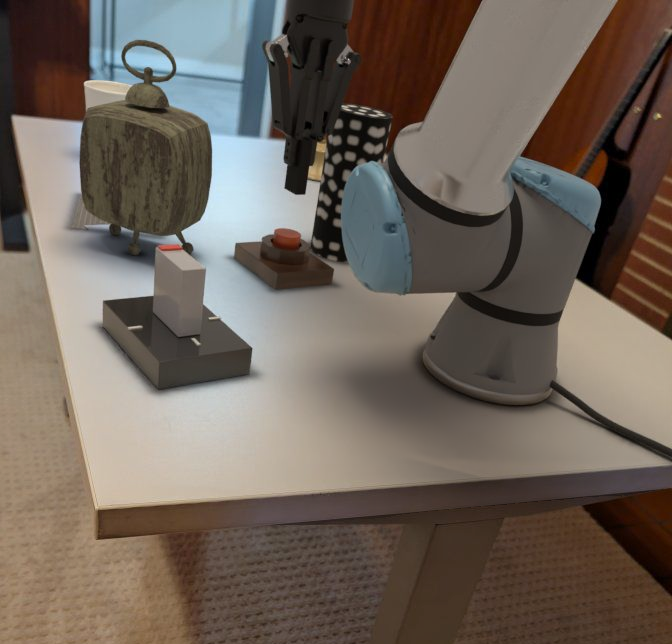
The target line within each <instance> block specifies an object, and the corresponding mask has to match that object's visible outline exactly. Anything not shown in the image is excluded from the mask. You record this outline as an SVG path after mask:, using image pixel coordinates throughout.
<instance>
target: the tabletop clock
mask: <svg viewBox="0 0 672 644" xmlns="http://www.w3.org/2000/svg"><path fill="white" fill-rule="evenodd" d="M135 47H146V48H150V49H154V50H156V51H159V52H160V53H162V54H164V55H165V56H166V57H167V59H168V60H169V62H170V64H171V67H172V68H171V72H170V73H168V74H166V75H162V76H157V75H154V70H153V68H152V67H150V66H146V67H144V68H143V72H141V71H139V70H136V69H135V68H133V67H132V66H130V64H129V63H127V59H126V55H127V53H128V52H129V50H130V49H132V48H135ZM120 57H121V61H122V65H123V66H124V68H125V69H126V70H127V72H128V73H130V74H131V75H133V76H134V77H136V78H137V79H140V80H141V81H143V82H137V83H134V84H133V85H132V87H130V89H129V90H128V92H127V94H126V97H125V100H121V101H116V102H112V103H107V104H102V105H98V106H94V107H90V108H88V109H87V111H86V110H85V114H84V117H83V119H82V125H81V131H80V140H79V179H80V193H81V195H82V199H83V203H84V206H85V208H86V210H87V211H88V212H90V213H91V214H92V215H94V216H96V217H98V218H99V219H101V220H103V221H106V222H108V223H111V224H109V226H108V230H109V233H110V234H112V235H113V236H118V235H120V234H121V232H122V228H123V229H125V230H129V231H132V232H133V239H132V241H133V242H131V243H129V244H128V246H127V250H128V253H129V254H130V255H131V256H138V255H140V253H141V246H140V245H139V243H138V242H139V238H140V233H141V234H147V235H152V236H158V237H169V236H176V237H177V239H178V241H179V242H180V243H181V244H182V245H180V246H181V247H182V248H183V250H184V251H185V252H186V253H188V254H189V255H191V254H193V252H194V246H193V244H192V243H191V242H188V241H186V239H185V236H184V235H183V233H182V232H183V231H184V230H186V229H188V228H190V227H192V226H193V225H195V224H197V223H198V222H200V221H201V220H202V218H203V216H204V214H205V212H206V209H207V206H208V202H209V197H210V191H211V185H212V177H213V144H212V143H213V142H212V134H211V131H210V127H209V124H208V122H207V121H205V120H204V119H202V118H201V117H200V116H198V115H196V114H195V113H193V112H190V111H187V110H185V109H182V108H179V107H175V106H173V105H170V102H169V99H168V96H167V94H166V93H165V92H164V90H163V89H162V87H160V86H159V85H157V84H154V83H159V84H160V83H165V82H169V81H170V80H171V79H172V78H174V77H175V75H176V73H177V69H178V68H177V63H176V59H175V57H174V55H173V54H172V53H171V51H170V50H169V49H168V48H167V47H165V46H164V45H162V44H160V43H158V42H155V41H150V40H147V39H134V40H131V41H129V42H128V43H126V45H124V46H123V48H122V51H121V56H120Z"/></svg>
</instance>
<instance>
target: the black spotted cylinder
mask: <svg viewBox="0 0 672 644" xmlns="http://www.w3.org/2000/svg"><path fill="white" fill-rule="evenodd" d="M393 117H394V116H393V115H392V114H391V113H389V112H387V111H384V110H381V109H378V108H374V107H371V106H366V105H361V104H354V103H346V102H343V104H342V106H341V109H340V112H339V115H338V118H337V121H336V124H335V127H334V130H333V133H332V134H331V135H329V136H328V135H327V138H326V150H325V157H324V163H323V169H322V176H321V181H319V182H320V183H319V189H318V195H317V201H316V209H315V215H314V221H313V229H312V234H311V240H310V248H311V249H310V251H311V252H312V253H313V254H315V255H317V256H319V257H320V258H324V259H326V260H329V261H334V262H340V263H348V260H347V257H346V254H345V250H344V245H343V239H342V228H341V206H342V198H343V193H344V189H345V185H346V182H347V180H348V177H349V175H350V174H351V172H352V171H353V170H354V169H355V168H356V167H357V166H359V165H363V164H365V163H368V162H370V161H374V162H377V163H379V164H382V163H383V162H384V161H385V159H386V158H385V157H386V153H387V148H388V142H389V138H390V133H391V127H392V122H393Z"/></svg>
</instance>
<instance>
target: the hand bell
mask: <svg viewBox="0 0 672 644" xmlns="http://www.w3.org/2000/svg"><path fill="white" fill-rule="evenodd" d="M322 137H324V139H323V141H322V142H317V147H316V154H315V161H314V164H313V166H309V173H308V180H311V181H315V182H321V176H322V169H323V163H324V157H325V150H326V144H327V138H328V135H325V136H322Z"/></svg>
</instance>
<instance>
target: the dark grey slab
mask: <svg viewBox="0 0 672 644" xmlns="http://www.w3.org/2000/svg"><path fill="white" fill-rule="evenodd" d="M102 328H103V329H104V330H105V331H106V332H107V333H108V335H110V337H111V338H112V339H113V340H114V341H115V342H116V344H118V345H119V346H120V348H121V349H122V350H123V352H124V353H126V354H127V356H128V357H129V358H130V359H131V360H132V361H133V363H134V364H135V365H136V366H137V367H138V368H139V369H140V370H141V372H142V373H143V374H144V375H145V376H146V377H147V379H148V380H149V381H150V382H151V383H152V384H153V386H154V387H156V389H157V390H164V389H169V388H175V387H176V388H177V387H180V386H181V387H182V386H188V385H193V384H199V383H204V382H210V381H216V380H221V379H223V380H224V379H228V378H234V377H239V376H245V375H250V372H251V365H252V358H253V357H252V356H253V350H254V348H253V347H252V346H251V345H250V344H249V343H248V342H246V341H245V340H244V339H243V338H242V337H241V336H240V335H238V333H236V332H235V331H234V330H233V329H232V328H231V327H230V326H229V325H227V324H226V323H225V322H224V321H223V320H222V317H221V316H220V315H219V316H217V315H216V314H215V313H214V312H213V311H212V310H210V309H209V308H208V307H207V306H206V305H205V304H204V303H203V311H202V323H201V334H198V335H191V336H183V337H178V336H177V335H176V334H175V333H174V332H172V331H171V330H170V329H169V328H168V327H167V326H166V325H165V324H164V323H163V322H162V321H161V320H160V319H159V318H158V317H157V316H156V315H155V314H154V313H153V295H147V296H146V295H145V296H136V297H125V298H114V299H113V298H112V299H105V300H102Z"/></svg>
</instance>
